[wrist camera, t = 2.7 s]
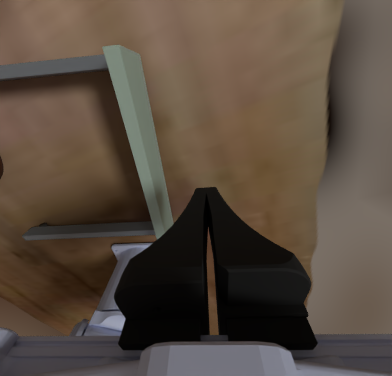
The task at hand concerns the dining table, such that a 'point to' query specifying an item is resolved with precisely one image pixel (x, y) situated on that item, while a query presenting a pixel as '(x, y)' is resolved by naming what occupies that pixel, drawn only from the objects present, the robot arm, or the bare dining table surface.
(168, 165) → the dining table surface
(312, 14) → the dining table surface
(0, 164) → the food container
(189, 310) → the robot arm
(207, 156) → the dining table surface
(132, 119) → the grey u-shaped frame
